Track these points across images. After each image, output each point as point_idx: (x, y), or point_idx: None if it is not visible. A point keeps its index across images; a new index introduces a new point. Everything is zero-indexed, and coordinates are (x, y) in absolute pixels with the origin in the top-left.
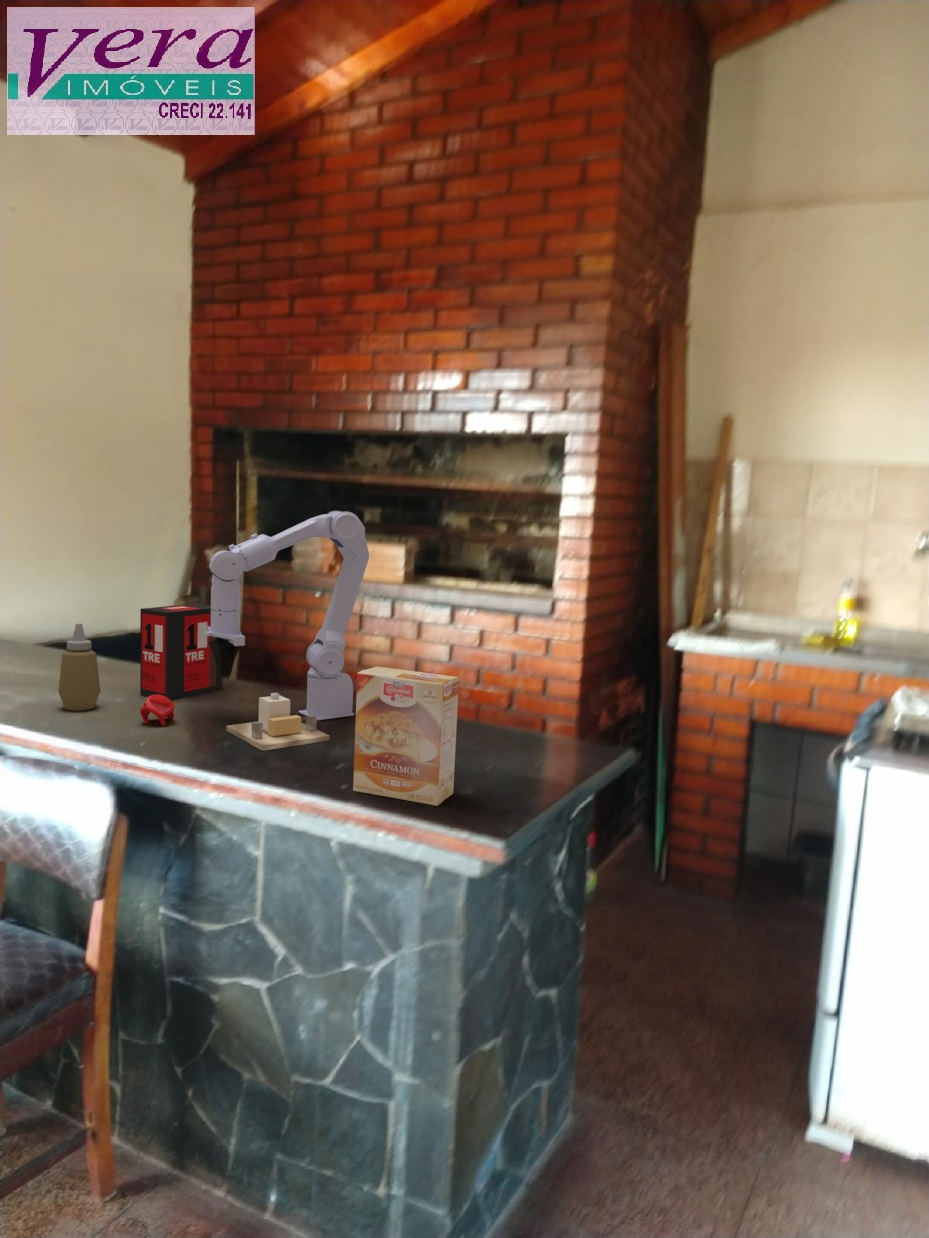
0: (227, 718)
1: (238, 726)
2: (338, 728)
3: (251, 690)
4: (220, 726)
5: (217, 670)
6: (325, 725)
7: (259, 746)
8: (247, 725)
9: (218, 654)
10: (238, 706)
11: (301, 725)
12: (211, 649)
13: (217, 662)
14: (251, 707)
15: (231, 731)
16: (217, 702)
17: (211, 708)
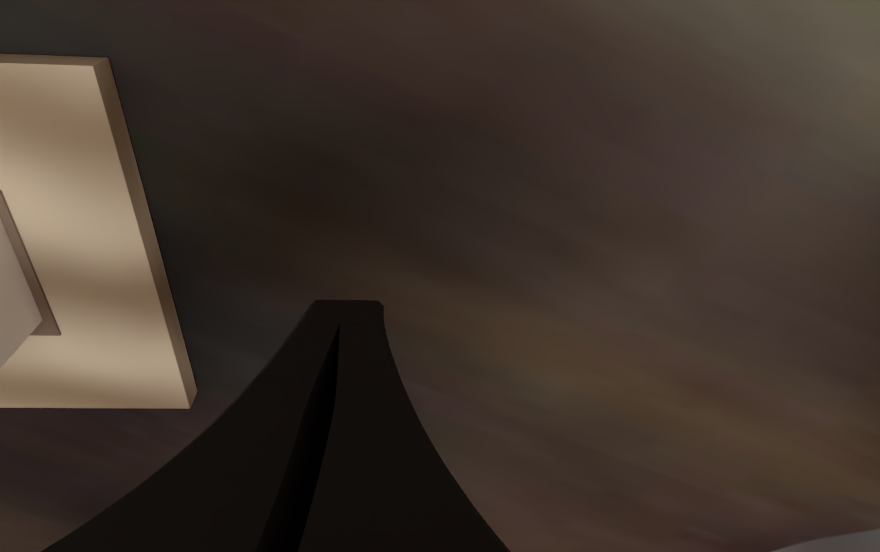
0: (403, 190)
1: (55, 125)
2: (35, 481)
3: (827, 477)
4: (232, 73)
5: (376, 322)
6: (99, 466)
7: None
8: (71, 181)
9: (174, 475)
10: (610, 334)
11: (14, 389)
12: (451, 507)
13: (339, 385)
14: (552, 370)
15: (16, 57)
16: (760, 288)
17: (668, 211)
